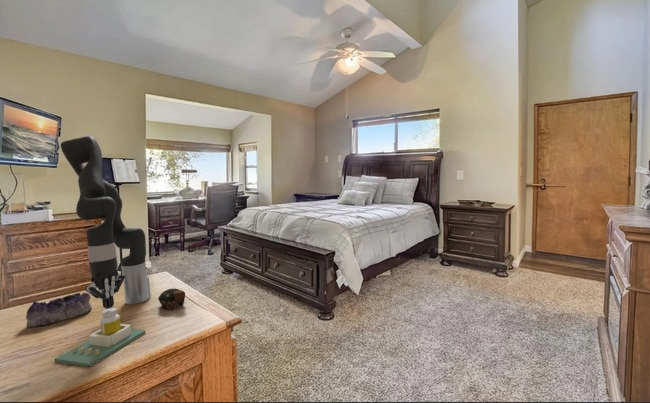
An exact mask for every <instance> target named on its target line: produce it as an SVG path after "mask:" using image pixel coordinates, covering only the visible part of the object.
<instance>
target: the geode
mask: <svg viewBox="0 0 650 403" xmlns="http://www.w3.org/2000/svg"><path fill="white" fill-rule="evenodd" d="M91 298H92V297H91V294H90V293H88V292H83V293H82V294H81V293H80V292H76V293H73V294H71V295H70V294H69V295H65V296H63V297H59V298H55V299H51V300H50V301H49V302H45V301H41V302H38V301H33V302H32V304H31V305H30V306H29V308H28V309H27V311H26V315H25V319H26V321H27V322H26V328H27V329H34V328H40V327H44V326H47V325H50V324H53V323H57V322H61V321H64V320H68V319H72V318H75V317H77V316H81V315H83V314H86V313H88V312H91V311H92V305H91V303H90V300H91Z"/></svg>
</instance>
